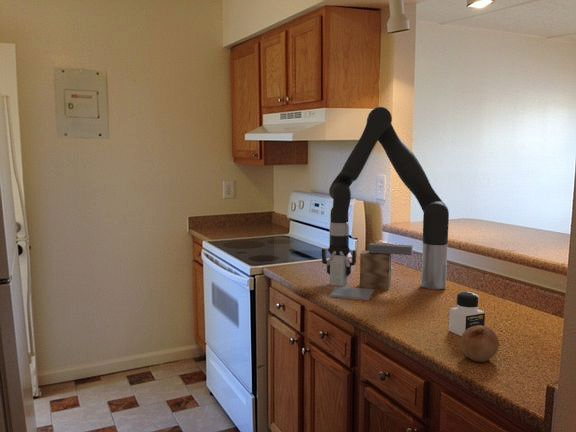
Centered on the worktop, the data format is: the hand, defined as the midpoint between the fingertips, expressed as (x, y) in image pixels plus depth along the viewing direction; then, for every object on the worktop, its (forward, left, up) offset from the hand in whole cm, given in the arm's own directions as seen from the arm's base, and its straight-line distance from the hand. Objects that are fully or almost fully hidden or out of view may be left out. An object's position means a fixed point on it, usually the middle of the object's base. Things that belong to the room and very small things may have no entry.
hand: (338, 274), depth 211 cm
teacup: (-15, -14, -4) cm, 21 cm away
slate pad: (-8, +12, -4) cm, 15 cm away
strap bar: (-20, 0, +10) cm, 23 cm away
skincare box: (0, 0, -4) cm, 4 cm away
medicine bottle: (-48, +42, -4) cm, 64 cm away
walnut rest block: (-14, 0, -4) cm, 15 cm away
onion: (-51, +61, -4) cm, 80 cm away
